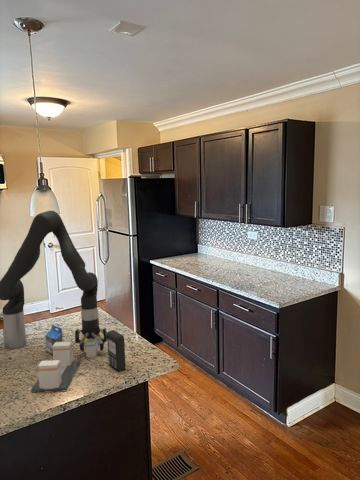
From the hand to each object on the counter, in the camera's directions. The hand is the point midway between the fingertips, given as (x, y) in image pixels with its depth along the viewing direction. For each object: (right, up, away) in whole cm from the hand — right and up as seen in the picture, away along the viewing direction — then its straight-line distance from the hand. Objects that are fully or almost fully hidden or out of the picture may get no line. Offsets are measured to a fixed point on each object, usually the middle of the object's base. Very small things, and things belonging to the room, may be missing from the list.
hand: (92, 350), depth 164 cm
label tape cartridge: (-18, -2, +3) cm, 18 cm away
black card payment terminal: (+13, -3, -12) cm, 18 cm away
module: (0, -2, 0) cm, 2 cm away
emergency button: (-3, -1, +13) cm, 14 cm away
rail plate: (-9, -5, -19) cm, 22 cm away
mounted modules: (-9, -3, -19) cm, 21 cm away
